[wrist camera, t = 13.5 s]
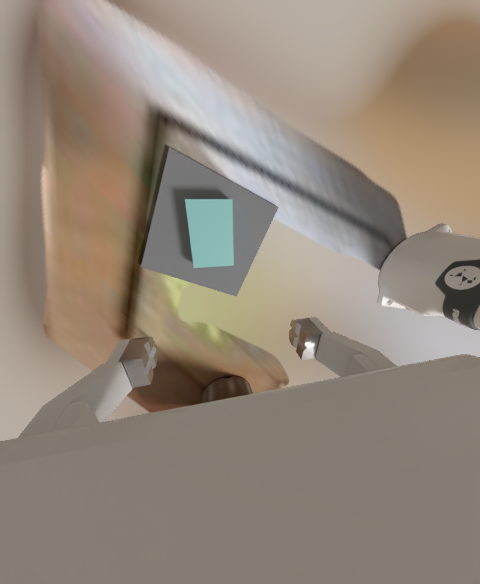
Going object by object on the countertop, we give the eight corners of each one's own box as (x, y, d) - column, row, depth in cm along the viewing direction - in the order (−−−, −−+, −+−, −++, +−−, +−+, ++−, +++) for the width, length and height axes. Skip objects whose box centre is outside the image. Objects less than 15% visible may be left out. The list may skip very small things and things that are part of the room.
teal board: (233, 265, 27) (232, 199, 23) (193, 268, 26) (184, 199, 22) (231, 261, 29) (229, 199, 25) (194, 263, 28) (186, 199, 24)
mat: (276, 207, 27) (278, 207, 27) (235, 294, 33) (236, 296, 32) (169, 148, 22) (169, 147, 21) (142, 265, 27) (140, 266, 27)
